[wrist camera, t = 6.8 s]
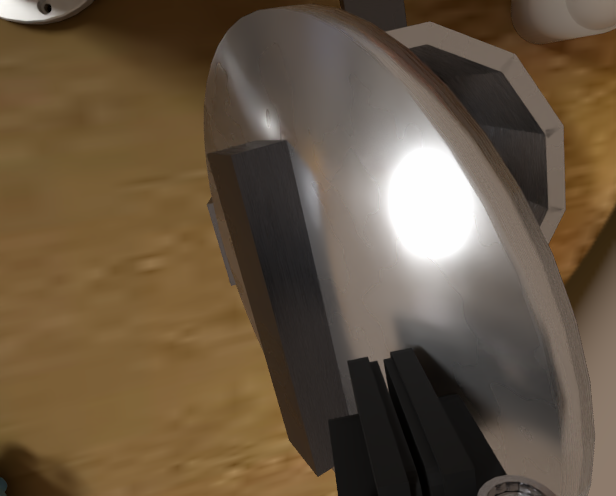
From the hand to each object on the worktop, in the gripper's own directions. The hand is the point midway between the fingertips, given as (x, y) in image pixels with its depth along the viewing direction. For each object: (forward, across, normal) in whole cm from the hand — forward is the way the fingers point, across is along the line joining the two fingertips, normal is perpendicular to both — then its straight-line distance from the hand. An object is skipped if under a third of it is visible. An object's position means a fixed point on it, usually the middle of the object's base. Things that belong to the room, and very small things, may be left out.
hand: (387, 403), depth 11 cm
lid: (+6, +1, -1) cm, 6 cm away
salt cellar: (+25, -18, -10) cm, 33 cm away
